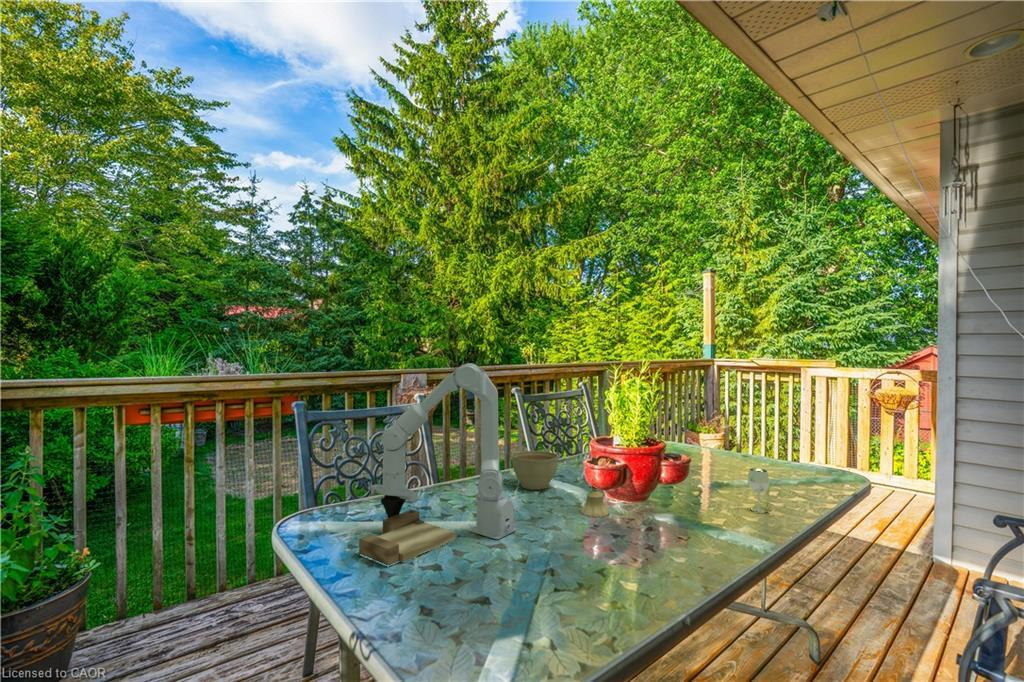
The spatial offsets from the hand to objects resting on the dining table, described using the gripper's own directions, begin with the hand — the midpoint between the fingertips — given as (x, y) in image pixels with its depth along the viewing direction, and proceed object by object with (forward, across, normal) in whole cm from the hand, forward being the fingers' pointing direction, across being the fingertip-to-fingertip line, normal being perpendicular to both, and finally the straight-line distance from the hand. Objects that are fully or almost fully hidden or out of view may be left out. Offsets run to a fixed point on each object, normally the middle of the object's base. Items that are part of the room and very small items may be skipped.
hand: (393, 524), depth 129 cm
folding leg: (+1, -3, 0) cm, 3 cm away
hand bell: (+2, -40, -41) cm, 57 cm away
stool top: (+1, -10, +6) cm, 12 cm away
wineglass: (+1, -82, -67) cm, 106 cm away
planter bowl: (+2, -13, -56) cm, 57 cm away
